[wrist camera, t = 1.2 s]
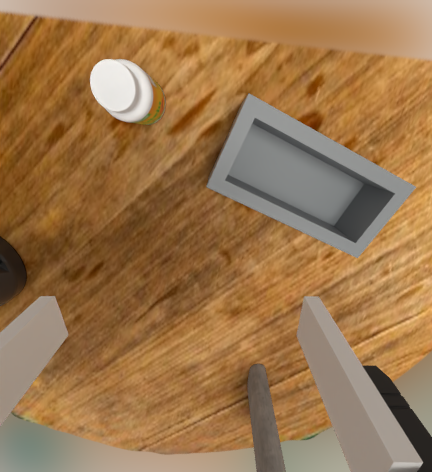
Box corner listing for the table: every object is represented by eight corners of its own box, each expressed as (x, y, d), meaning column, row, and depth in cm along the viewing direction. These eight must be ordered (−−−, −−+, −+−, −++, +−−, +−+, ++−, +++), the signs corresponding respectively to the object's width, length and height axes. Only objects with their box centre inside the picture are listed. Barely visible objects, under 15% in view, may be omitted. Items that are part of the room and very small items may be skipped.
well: (208, 177, 33) (206, 187, 26) (242, 102, 29) (248, 93, 22) (332, 236, 36) (357, 258, 30) (377, 176, 32) (416, 187, 26)
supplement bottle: (148, 134, 31) (119, 133, 22) (115, 101, 29) (69, 86, 20) (175, 101, 29) (155, 86, 20) (141, 65, 27) (104, 31, 19)
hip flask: (264, 409, 54) (287, 548, 36) (247, 410, 55) (261, 548, 36) (265, 363, 48) (293, 503, 30) (245, 364, 48) (262, 504, 30)
